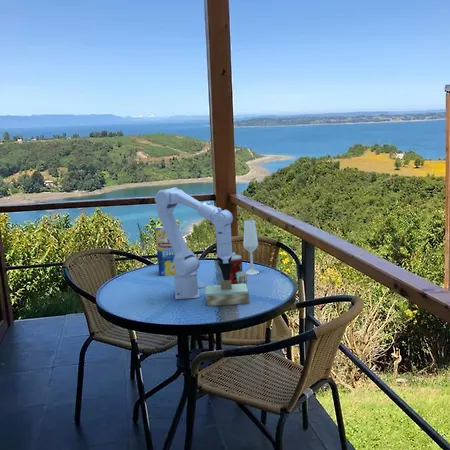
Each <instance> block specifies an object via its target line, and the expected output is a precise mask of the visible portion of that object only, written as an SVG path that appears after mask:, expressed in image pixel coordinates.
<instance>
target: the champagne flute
mask: <svg viewBox="0 0 450 450" xmlns="http://www.w3.org/2000/svg"><path fill="white" fill-rule="evenodd" d="M243 224H244V226H243V245H242V246H243V248H244V249H245V250H247V252H249V258H250V259H249V261H250V268H249V269H248V270H246V274H247V275H257V273H258V274H259V273H260V271H259V270H257V269H256V268H254V257H253V255H254V254H253V252H254V251H255V250H256V249H257V248H258V246H259V242H258V233H257V228H256V225H257V224H256V221H255V220H253V219H248V220H244V223H243Z"/></svg>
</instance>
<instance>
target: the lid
mask: <svg viewBox="0 0 450 450" xmlns="http://www.w3.org/2000/svg"><path fill="white" fill-rule="evenodd" d="M244 293H249V290H248V284H247V285H246V284H244V283H240V284H237V283H236V284H231V280H229V281H225V280H220V284H217V285H215V284H214V285H205V297H206V296H214V295H229V294H244Z"/></svg>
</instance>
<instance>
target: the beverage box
mask: <svg viewBox="0 0 450 450" xmlns="http://www.w3.org/2000/svg"><path fill="white" fill-rule="evenodd" d="M178 227H179V225H178ZM179 228H180V227H179ZM154 232H155V240H156V252H157V253H156V254H157V263H158V264H157V265H158V276H159V277H163V276H164V277H165V276H175V275H178V274H177V273H176V271H175V264H174V261H173V259H174V257H175V252H174V250H173V248H172V246H171V243H170V241H169V239H168V236H167V234H166V232H165V230H164V227H163V226H155V227H154Z"/></svg>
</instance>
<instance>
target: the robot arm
mask: <svg viewBox="0 0 450 450" xmlns="http://www.w3.org/2000/svg"><path fill="white" fill-rule="evenodd" d="M154 202H155V203H156V209H157V210H156V212H157V215H158V218H159V220H160V222H161V225H162V227H164V230H165V232H166V234H167V236H168V239H169V241H170V243H171V246H172V248H173V250H174V252H175V257H174V259H173V261H174V264H175V271H176V273H177V275H173V276H174V277H173V280H174V281H173V283H174V295H175V296H174V297H175V300H184V299H199V298H200V290H199V284H198V269H199V268H200V265H201V264H200V263H201V262H200V260H199V258H198V257H197V256H196V255H195V253H194V251H192V250H191V249H189V247H188V245H187V244H186V241H185V239H184V237H183V234H182V232H181V230H180V227H178V226H179V225H178V223H177V221H176V218H175V216H174V214H173V213H174V210H175V208H176V207H177V206H178V204H183V206H186V207H189V208H191V209H193V210H195V211H197V213H198V215H199V216H201V217H202V218H204V219H206V220H208V221H210V222H211V223H212V224H213V227H214V229H215V238H216V241H215V242H216V257H217V259H218V262H217V264H218V267H219V268H220V271H221V274H222V279H223V281H225V280H229V279H230V272H231V267H232V265H233V262H230V261H231V258H232V256H233V255H236V252H233V245H232V243H233V242H232V228H231V225H232V223H233V221H234V216H233V213H232V212H231V211H229V210H228V209H224V210H223V209H222V208H221V207H217V206H215V205H213V204H212V201H211V202H210V201H203V202H201V201H199V200H197V199H196V198H195V197H192V196H190V195H189V194H188V193H186V192H184V190H183V189H179V187H176V186H175V187H171V188H167V189H160V190H159V191H158V192H157V193H156V195H155V197H154Z"/></svg>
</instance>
